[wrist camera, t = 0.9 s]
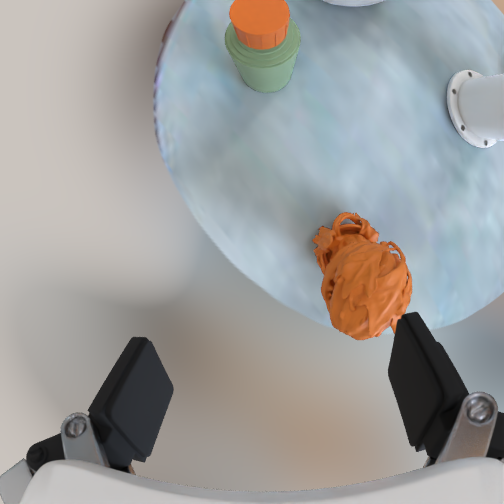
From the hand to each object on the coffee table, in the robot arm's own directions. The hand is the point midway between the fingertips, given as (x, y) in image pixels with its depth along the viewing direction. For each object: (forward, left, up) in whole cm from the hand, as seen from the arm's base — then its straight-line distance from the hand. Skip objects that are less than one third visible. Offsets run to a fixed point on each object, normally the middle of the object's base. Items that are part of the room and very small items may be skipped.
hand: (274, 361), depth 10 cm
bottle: (-12, -12, -29) cm, 34 cm away
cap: (-12, -12, -14) cm, 22 cm away
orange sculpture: (-2, +12, -30) cm, 32 cm away
